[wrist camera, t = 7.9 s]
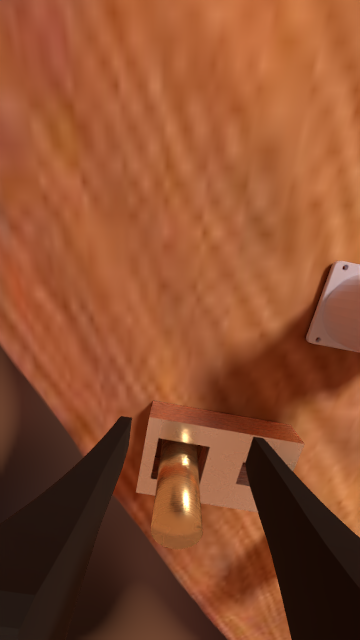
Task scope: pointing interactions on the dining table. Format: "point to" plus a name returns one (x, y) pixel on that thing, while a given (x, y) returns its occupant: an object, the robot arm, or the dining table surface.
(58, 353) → the dining table surface
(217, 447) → the plate
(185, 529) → the brass fitting
